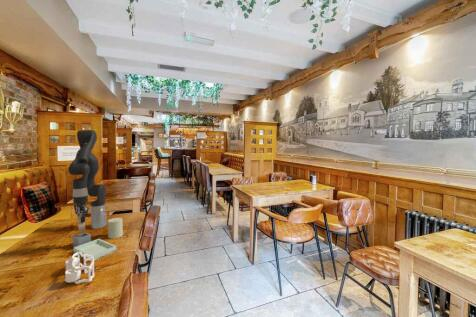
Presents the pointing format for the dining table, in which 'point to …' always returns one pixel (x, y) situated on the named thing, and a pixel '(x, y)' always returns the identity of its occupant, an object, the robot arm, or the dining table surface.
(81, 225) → the dowel pin
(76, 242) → the deep cup
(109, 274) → the dining table surface
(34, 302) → the dining table surface
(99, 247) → the tray
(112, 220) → the can
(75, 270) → the white wireframe roller cage
